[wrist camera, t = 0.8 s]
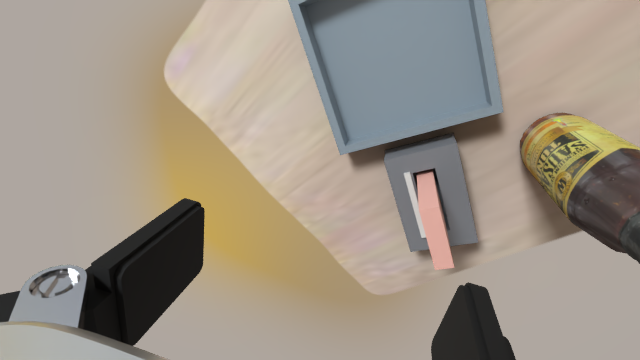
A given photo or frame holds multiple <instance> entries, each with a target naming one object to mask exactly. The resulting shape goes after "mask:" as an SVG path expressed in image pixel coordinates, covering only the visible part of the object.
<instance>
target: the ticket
mask: <svg viewBox="0 0 640 360" xmlns="http://www.w3.org/2000/svg"><path fill="white" fill-rule="evenodd" d="M417 188H418V204H419V213H420V216H421V220H422V224H423V227H424V231H425V235H426V238H427V242H428V246H429V249H430V253H431V257H432V260H433V264H434V268H435V270H439V269H447V268H454V263H453V258H452V253H451V248H450V243H449V238H448V233H447V228H446V223H445V218H444V213H443V209H442V205H441V201H440V197H439V193H438V189H437V185H436V181H435V177H434V173H433V169H428V170H424V171H419V172H417Z"/></svg>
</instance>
